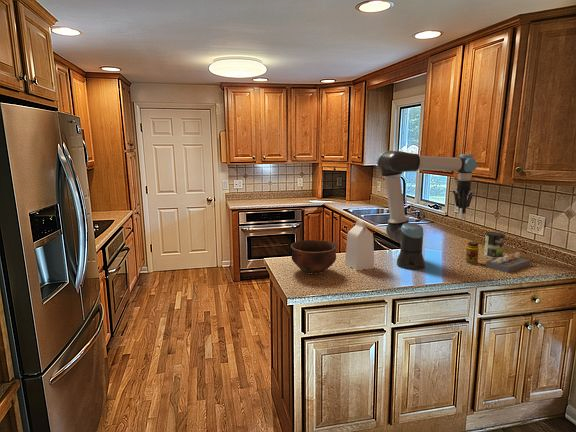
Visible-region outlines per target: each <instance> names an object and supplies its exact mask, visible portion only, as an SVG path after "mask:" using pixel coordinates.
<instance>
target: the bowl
mask: <svg viewBox="0 0 576 432" xmlns="http://www.w3.org/2000/svg"><path fill="white" fill-rule="evenodd" d="M337 247H338V245H337V244H336V243H334V242H332V241H329V240H322V239H321V240H320V239H319V240H316V239H315V240H314V239H312V240H311V239H306V240H298V241H294V242H292V243H291V244H290V250H291V260H292V262H293V263H294V264H295V265H296V266H297V268H299V269H300V271H301V272H303V273H305V274H307V273H310V274H309V275H316V274H315V273H318V274H322V273H323V272H325V271H326V270H328V269H330V268H331V266H333V265H334V263H335V262H336V260H337V253H336V250H337ZM321 272H322V273H321ZM311 273H312V274H311Z"/></svg>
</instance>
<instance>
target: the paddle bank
mask: <svg viewBox="0 0 576 432" xmlns="http://www.w3.org/2000/svg"><path fill="white" fill-rule="evenodd" d="M507 255H509V256H507ZM503 256H504V257H503V258H502V257H499V258H498V259H497V263H498V264H501V263H503V262H507V261H510V260H514V259H516V258H520V256H521V253H520V252H518V251H516V252H514V253H510V254H506V255H503ZM514 256H515V257H514Z"/></svg>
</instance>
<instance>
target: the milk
mask: <svg viewBox="0 0 576 432" xmlns="http://www.w3.org/2000/svg"><path fill="white" fill-rule="evenodd" d="M365 223H366V222H365V221H362V220H359V219H358V220H356V221H355V224H354V226H353V227H352V228H351V229H350V230H349V231H348V232H347V235H346V247H345V260H344V261H345V262H344V265H345V264H346V265H345V266H347V265H348V266H350V267H352V268H353V269H352V268H351V269H352V270H354V269H355V270H359V271H362V270H361V269H366V270H369V269H368V268H373V269H375V249H374V247H375V245H374V243H375V242H374V241H375V240H374V235H373V233H372V232H371V231H370V230H369V229H368V228H367V227H366V224H365ZM348 266H347V267H348ZM350 267H349V268H350ZM355 270H354V271H355Z"/></svg>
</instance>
